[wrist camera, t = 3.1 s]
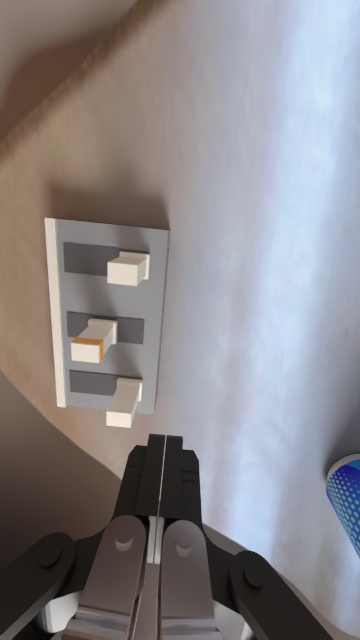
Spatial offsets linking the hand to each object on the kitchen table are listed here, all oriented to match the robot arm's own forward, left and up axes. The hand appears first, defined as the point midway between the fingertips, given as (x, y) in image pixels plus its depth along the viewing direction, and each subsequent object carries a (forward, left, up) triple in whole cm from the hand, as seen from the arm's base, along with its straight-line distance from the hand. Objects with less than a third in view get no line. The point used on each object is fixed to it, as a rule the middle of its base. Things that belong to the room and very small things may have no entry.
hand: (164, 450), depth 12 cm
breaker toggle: (0, -6, -13) cm, 14 cm away
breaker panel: (0, -6, -16) cm, 17 cm away
